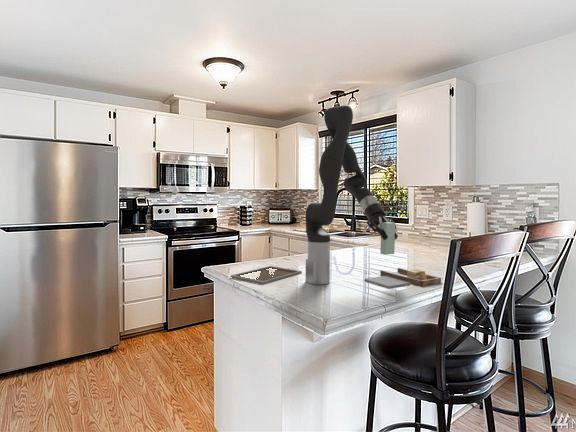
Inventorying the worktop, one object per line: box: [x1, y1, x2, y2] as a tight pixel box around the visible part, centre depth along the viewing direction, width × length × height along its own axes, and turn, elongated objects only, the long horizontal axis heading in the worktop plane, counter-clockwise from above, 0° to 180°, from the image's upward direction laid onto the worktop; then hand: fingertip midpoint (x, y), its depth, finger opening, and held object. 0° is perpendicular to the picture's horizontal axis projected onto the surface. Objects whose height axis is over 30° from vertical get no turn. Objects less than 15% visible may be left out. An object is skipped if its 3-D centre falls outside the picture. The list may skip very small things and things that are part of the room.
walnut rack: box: [379, 267, 442, 287], centre depth 156 cm, size 12×23×2 cm, turn 30°
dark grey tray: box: [230, 265, 303, 286], centre depth 161 cm, size 19×2×30 cm
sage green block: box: [379, 222, 396, 256], centre depth 148 cm, size 5×3×13 cm, turn 120°
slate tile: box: [364, 275, 411, 289], centre depth 149 cm, size 12×14×1 cm
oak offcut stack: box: [406, 268, 427, 280], centre depth 152 cm, size 7×5×4 cm
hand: (391, 238), depth 146 cm, fingers closed on sage green block, 5 cm apart
